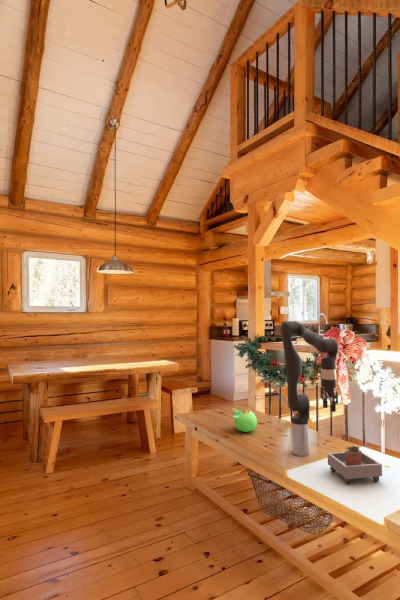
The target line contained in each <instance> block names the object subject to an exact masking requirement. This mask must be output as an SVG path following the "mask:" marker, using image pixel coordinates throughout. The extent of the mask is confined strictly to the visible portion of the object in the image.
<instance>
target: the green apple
mask: <svg viewBox="0 0 400 600" xmlns="http://www.w3.org/2000/svg"><path fill="white" fill-rule="evenodd" d="M231 409H232V411H233V413H234V415H232V419H233V424H234V426H235V428H236V429H237V430H238V431H240V432H242V433H248V432H252V431H254V429H255V428H256V427H257V423H258V419H257V416H256V414H255V413H254V412H253V411H252V410H250V408H248V409H240V410H238V409H237V408H235V407H231Z"/></svg>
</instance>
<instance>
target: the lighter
mask: <svg viewBox="0 0 400 600" xmlns="http://www.w3.org/2000/svg"><path fill="white" fill-rule="evenodd" d="M344 452H345V453H346V466H353V465H362V464H361V453H362V452H363V451H362V450H361V449H360V446H358V445H356V446H355V445H354V444H353V445H351V446H350V445H349V446H348V445H347V446H346V450H344Z"/></svg>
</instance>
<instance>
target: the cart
mask: <svg viewBox="0 0 400 600" xmlns="http://www.w3.org/2000/svg"><path fill="white" fill-rule="evenodd" d="M361 464H362V465H353V466H346V453H345V451H341V452H327V465H329V469H330V471H331V472H334V473H335V472H337V473H338V474H339V475H341V476H342V477H343V478H344V482H345V483H346V484H347V485H351V484H352V483H353V479H365V478H371V479H372V480H373V481H374V482H375V483H376V482H379V481H380V477H382V476H383V468H382V467H383V463H381V462H379V461H378V460H376V459H374V458H373V457H372V456H369V455H368V454H366V453H365V452H363V451H362V453H361Z"/></svg>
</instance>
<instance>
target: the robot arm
mask: <svg viewBox="0 0 400 600" xmlns="http://www.w3.org/2000/svg"><path fill="white" fill-rule="evenodd" d="M280 337H281V341H282V345H283V352H284V353H283V354H284V362H285V363H284V365H285V372H286V373H285V374H286V382H287V384H286V385H287V405H288V407H289V410H290V411H291V412H296V413H295V414H294V415H293V416H291V452H292V454H293V455H295V456H301V457H306V456H308V455H309V454H310V447H309V446H310V443H309V442H310V441H309V440H310V439H309V419H310V409H311V408H310V407H311V406H310V398H309V396H308V395H307V394H305V393H298V384H299V383H300V382H299V381H300V379H301V376H302V373H303V362H302V358H301V356H300V353H298V351H297V349H295V347H294V345H293V342H292V338H294V337H299V338H303V341H304V342H305V343H307V344H308V345H310V346H312V347H313V348H315V349H316V351H318V352H319V353H325V354H326V355H325V356H323V357H322V358H321V360H320V368H321V369H320V399H322V408H324V409H325V408H326V409H327V408H328V407H329V406H328V400H329V403H330V412H332V413H335V412H337V411H336V409H337V408H336V405H337V404H339V394H338V393H339V392H338V391H337V390H336V391H335V389H336V388H337V372H336V371H337V370H336V359H337V357H338V351H339V343H338V342H337V340H336V338H324V337H323V336H322V335H321V334H319V333H317V332H315V331H312V330H310V329H308V328H307V327H305V326H304V324H301V323H300V322H298V321H296V320H287V321H282V323H281V324H280Z"/></svg>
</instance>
